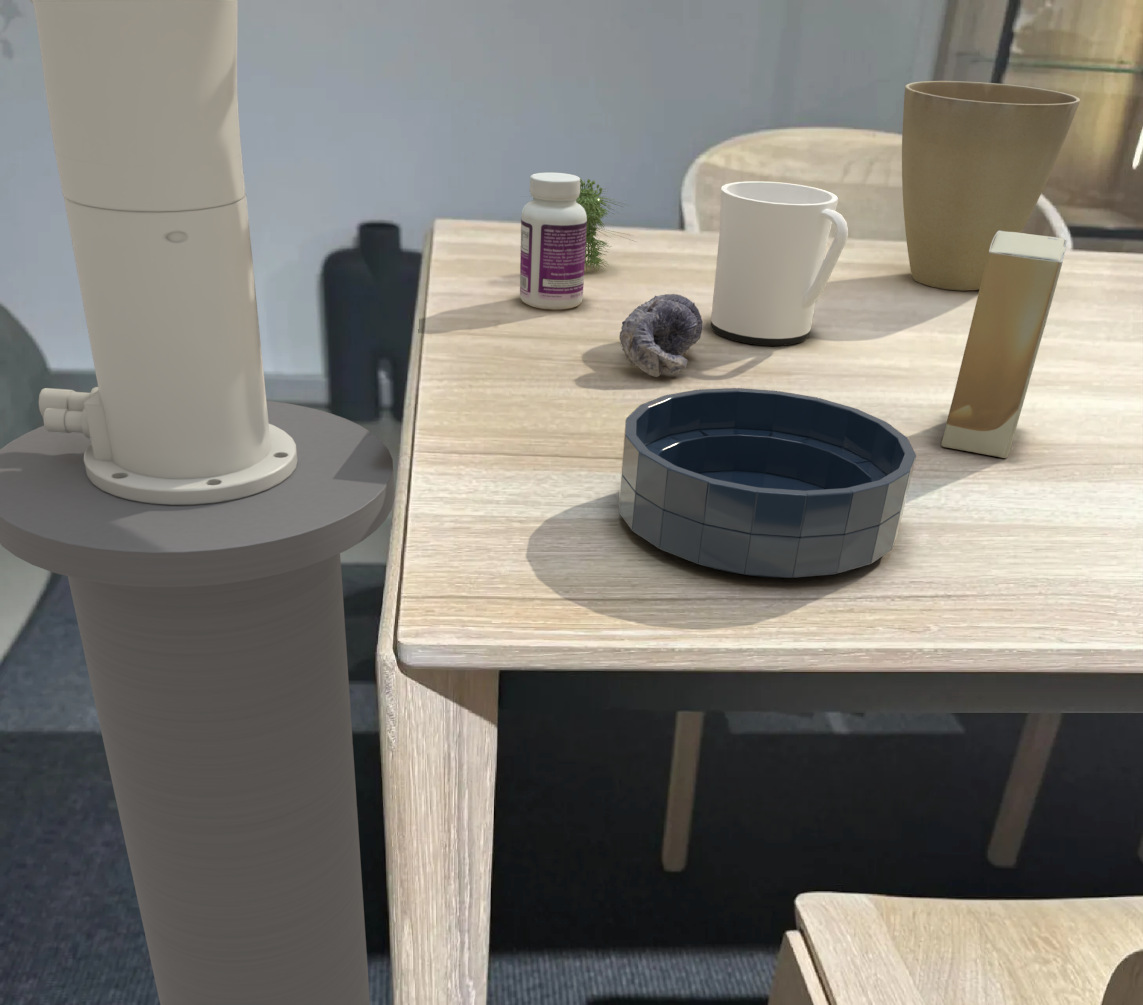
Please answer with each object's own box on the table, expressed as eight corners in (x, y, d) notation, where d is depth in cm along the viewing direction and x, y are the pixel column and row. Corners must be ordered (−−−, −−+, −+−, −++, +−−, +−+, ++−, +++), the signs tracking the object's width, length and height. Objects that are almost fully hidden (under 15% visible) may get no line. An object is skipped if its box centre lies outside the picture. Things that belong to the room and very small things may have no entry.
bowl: (615, 576, 60) (623, 482, 57) (620, 462, 72) (627, 379, 69) (918, 598, 59) (941, 504, 57) (870, 479, 72) (888, 398, 69)
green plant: (493, 257, 111) (495, 169, 107) (604, 249, 116) (610, 165, 112) (553, 290, 103) (557, 196, 99) (670, 280, 108) (678, 190, 104)
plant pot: (920, 254, 122) (958, 76, 113) (1056, 286, 114) (1109, 97, 104) (839, 275, 113) (873, 83, 104) (980, 312, 105) (1030, 107, 96)
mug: (682, 326, 96) (697, 188, 90) (749, 309, 101) (767, 177, 95) (791, 362, 90) (815, 215, 84) (857, 341, 95) (884, 202, 89)
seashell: (656, 400, 85) (669, 362, 93) (710, 344, 82) (718, 310, 91) (602, 347, 84) (619, 313, 92) (654, 289, 81) (667, 259, 89)
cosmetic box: (950, 418, 82) (997, 227, 74) (1015, 429, 80) (1069, 237, 73) (938, 449, 77) (987, 247, 70) (1007, 461, 76) (1064, 258, 68)
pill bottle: (592, 300, 101) (600, 175, 95) (566, 314, 97) (572, 185, 91) (536, 290, 103) (540, 167, 97) (507, 304, 99) (510, 176, 93)
